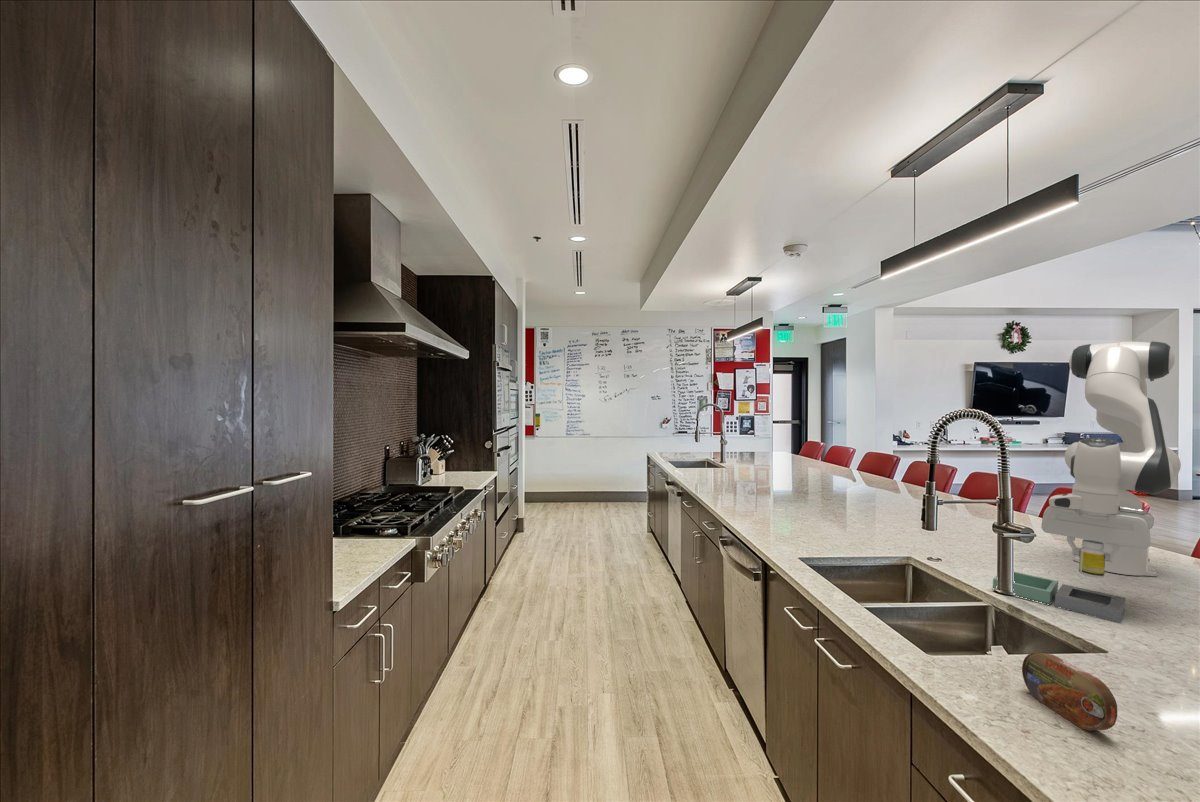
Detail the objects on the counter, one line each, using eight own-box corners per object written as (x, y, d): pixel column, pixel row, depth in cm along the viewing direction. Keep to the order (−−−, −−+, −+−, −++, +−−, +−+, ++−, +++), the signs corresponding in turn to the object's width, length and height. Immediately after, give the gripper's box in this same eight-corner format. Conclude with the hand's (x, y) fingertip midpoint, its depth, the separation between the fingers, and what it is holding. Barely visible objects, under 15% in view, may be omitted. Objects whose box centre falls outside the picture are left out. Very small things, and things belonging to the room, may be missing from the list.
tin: (1019, 688, 99) (1021, 643, 99) (1035, 688, 99) (1037, 642, 99) (1102, 743, 84) (1105, 690, 84) (1120, 742, 84) (1123, 689, 84)
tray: (1003, 581, 155) (1003, 569, 155) (1057, 593, 146) (1058, 581, 146) (992, 591, 147) (993, 578, 146) (1049, 605, 138) (1050, 592, 138)
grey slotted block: (1062, 595, 145) (1062, 584, 145) (1124, 609, 136) (1125, 597, 136) (1054, 606, 137) (1055, 595, 137) (1120, 623, 128) (1121, 610, 128)
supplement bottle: (1109, 579, 133) (1111, 545, 133) (1086, 577, 134) (1088, 543, 134) (1095, 572, 138) (1097, 540, 138) (1074, 570, 139) (1075, 538, 139)
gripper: (1154, 509, 130) (1151, 566, 131) (1045, 495, 145) (1043, 546, 146) (1153, 513, 126) (1150, 571, 126) (1041, 497, 141) (1038, 550, 141)
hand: (1092, 557), depth 136 cm, fingers closed on supplement bottle, 5 cm apart
